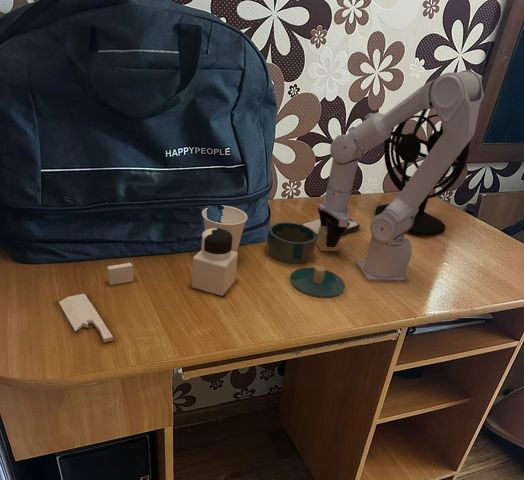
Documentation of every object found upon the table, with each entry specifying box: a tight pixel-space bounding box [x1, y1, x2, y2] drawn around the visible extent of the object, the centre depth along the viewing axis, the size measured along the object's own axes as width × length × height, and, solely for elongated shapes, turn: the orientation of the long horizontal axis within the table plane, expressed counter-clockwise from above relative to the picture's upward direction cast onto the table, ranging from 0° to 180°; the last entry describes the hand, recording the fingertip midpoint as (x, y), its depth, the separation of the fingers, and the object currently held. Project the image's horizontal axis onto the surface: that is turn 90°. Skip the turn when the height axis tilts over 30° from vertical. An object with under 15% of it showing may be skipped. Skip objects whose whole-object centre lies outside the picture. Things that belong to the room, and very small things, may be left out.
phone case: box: [300, 218, 360, 240], centre depth 136 cm, size 9×2×16 cm
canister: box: [265, 221, 317, 265], centre depth 120 cm, size 11×11×6 cm
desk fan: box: [375, 109, 471, 237], centre depth 137 cm, size 27×18×35 cm, turn 34°
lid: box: [289, 265, 346, 299], centre depth 111 cm, size 12×12×4 cm
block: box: [315, 226, 342, 252], centre depth 125 cm, size 4×4×5 cm
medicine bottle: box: [191, 228, 239, 297], centre depth 103 cm, size 7×7×12 cm
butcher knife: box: [58, 293, 114, 343], centre depth 91 cm, size 5×15×1 cm, turn 33°
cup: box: [201, 205, 248, 253], centre depth 112 cm, size 10×10×11 cm
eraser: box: [106, 262, 134, 286], centre depth 102 cm, size 1×5×4 cm, turn 121°
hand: (327, 241), depth 126 cm, fingers closed on block, 4 cm apart
